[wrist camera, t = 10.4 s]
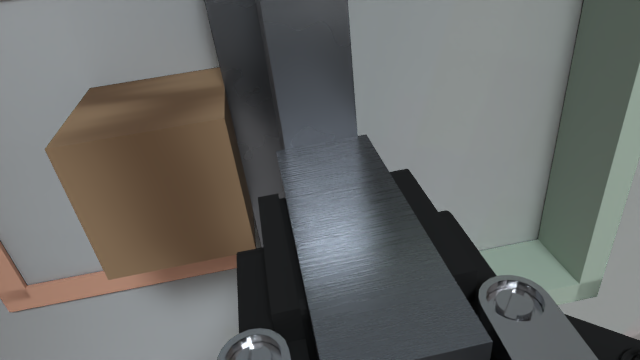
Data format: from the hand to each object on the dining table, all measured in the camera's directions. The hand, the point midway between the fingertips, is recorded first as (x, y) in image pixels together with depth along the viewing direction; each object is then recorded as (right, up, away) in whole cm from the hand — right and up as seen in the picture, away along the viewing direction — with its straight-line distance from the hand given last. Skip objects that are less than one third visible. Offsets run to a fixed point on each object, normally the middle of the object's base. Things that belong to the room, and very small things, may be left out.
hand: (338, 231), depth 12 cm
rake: (-1, +4, +6) cm, 8 cm away
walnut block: (-6, +3, +6) cm, 9 cm away
